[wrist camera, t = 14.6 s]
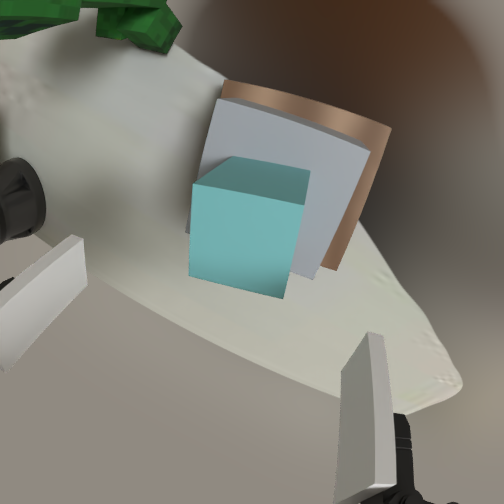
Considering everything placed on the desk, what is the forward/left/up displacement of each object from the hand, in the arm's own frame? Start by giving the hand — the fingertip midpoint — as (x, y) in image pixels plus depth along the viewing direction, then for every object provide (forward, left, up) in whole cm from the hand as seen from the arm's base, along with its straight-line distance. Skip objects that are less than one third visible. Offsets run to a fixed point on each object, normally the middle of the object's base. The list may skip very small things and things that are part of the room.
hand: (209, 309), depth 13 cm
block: (0, 0, -13) cm, 13 cm away
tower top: (0, +1, -19) cm, 19 cm away
